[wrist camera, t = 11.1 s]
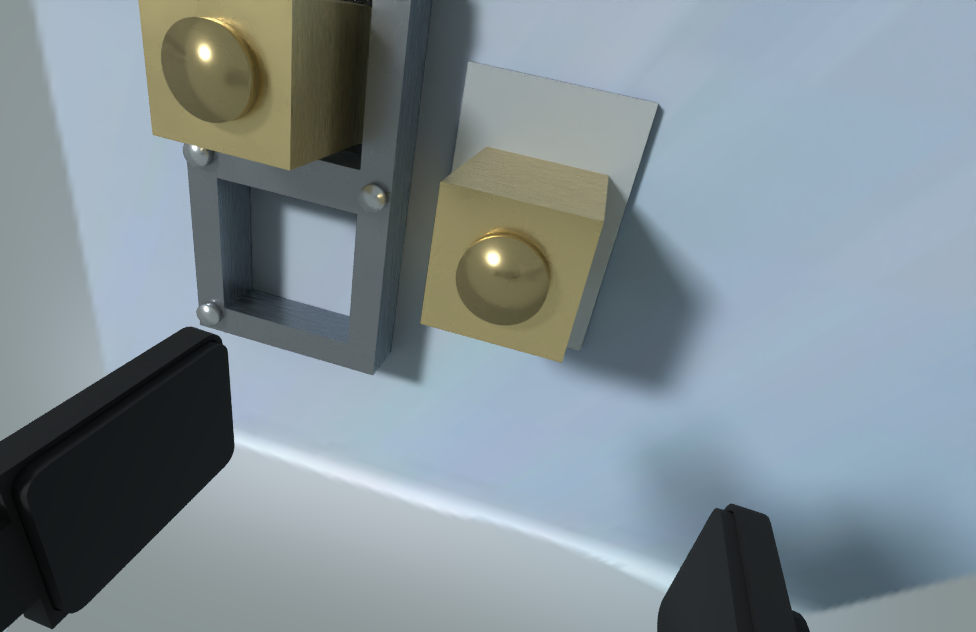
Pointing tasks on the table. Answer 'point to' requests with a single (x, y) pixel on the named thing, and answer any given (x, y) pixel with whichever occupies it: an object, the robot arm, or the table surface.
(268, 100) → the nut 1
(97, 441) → the robot arm
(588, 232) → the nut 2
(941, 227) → the table surface
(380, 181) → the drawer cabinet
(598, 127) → the mat
